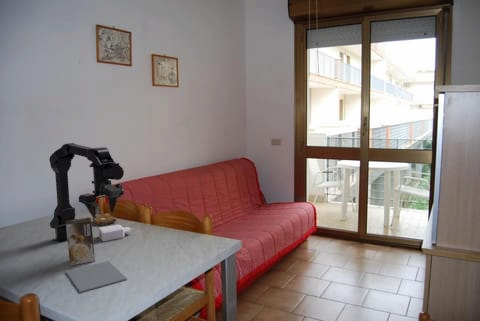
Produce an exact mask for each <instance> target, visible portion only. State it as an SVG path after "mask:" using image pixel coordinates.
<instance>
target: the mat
mask: <svg viewBox="0 0 480 321" xmlns="http://www.w3.org/2000/svg"><path fill="white" fill-rule="evenodd" d="M65 273H66V275H67V276H68V278H69V279H70V280H71V282H72V283H73V285H74V286H75V287H76V289H77V291H78V292H79V293H80V294H81V293H86V292H89V291H92V290H96V289H99V288H103V287H107V286H111V285H114V284H117V283H120V282H124V281H128V278H127V277H126V276H125V275H124V274H123V273H122V272H121V271H120V270H118V268H116V267H115V266H114V265H113V264H112V263H111V262H110V261H109V260H106V261H102V262H99V263H95V264H91V265H86V266H82V267H77V268H74V269H70V270H66V271H65Z"/></svg>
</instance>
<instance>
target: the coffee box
mask: <svg viewBox="0 0 480 321" xmlns="http://www.w3.org/2000/svg"><path fill="white" fill-rule="evenodd" d="M66 230H67V240H66V241H67V248H68V250H67V251H68V260H69V266H75V265H80V264H88V263H93V262H96V256H95V247H94V246H95V244H94V243H95V242H94V234H93V224H92V218H91V217H84V218H75V219H74V220H66Z"/></svg>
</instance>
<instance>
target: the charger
mask: <svg viewBox="0 0 480 321" xmlns="http://www.w3.org/2000/svg"><path fill="white" fill-rule="evenodd" d="M134 230H135V228H134V227H129V226H124V227H123V226H122V225H121V224H114V225H106V226H100V227H98V237H99V239H101V241H102V242H108V241H113V240H119V239H123V238H125V236H126V235H125V234H129V233H131V232H132V231H134Z"/></svg>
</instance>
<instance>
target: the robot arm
mask: <svg viewBox="0 0 480 321" xmlns="http://www.w3.org/2000/svg"><path fill="white" fill-rule="evenodd" d="M75 155H76V156H80V157H83V158H86V159H87V161H90V162H91V163H90V164H89V168H92V173H93V180H91V184H93V187H94V190H92V193H84V194H80V195H79V196H78V203H81V204H83V205H84V206H85V207H86V208H87V210H88V212H89V213H90V215H91V217H92V218H95V217H96V216H97V214H96V205H97V203H98V202H97V199H100V198H103V197H104V198H105V197H107V200H108V206H109V210H110V213H111V214H112V213H115V212H114V211H115V208H116V206H117V202H118V200H119V199H120V198H121V197H122V196H123V195H125V191H124V189H123V184H121V183H117V184H112V181H113V180H115V181H117V180H118V181H120V180H121V179H122V178H123V177H124V174H125V171H124V169H123V167H122V166H121V165H120V162H116V161H115V159H114V158H113V156H112V154H111V152H110V150H109V148H107V147H101V146H100V147H90V146H86V145H81V144H76V143H74V142H70V143H68V142H67V143H64V144H62V145H61V146H60V147H59V148H58V149H57V150H55V151H53V153H52V154H51V155H50V156H49V158H48V159H49V165H50V168H51V170H52V171H53V172H54V175H55V189H56V202H57V204H56V207H55V208H54V210H53V217H52V218H51V221H50V222H49V227H50V228H51V229H54V231H55V232H54V233H55V238H53V239H52V241H56V242H59V243H63V242H65V241H68V240H67V230H66V220H74V219H76V208H75V207H73V206H72V204H71V203H70V190H69V189H70V188H69V174H68V173H69V171H70V169H71V166H72V161H73V159H74V158H75ZM111 180H112V181H111Z"/></svg>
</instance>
